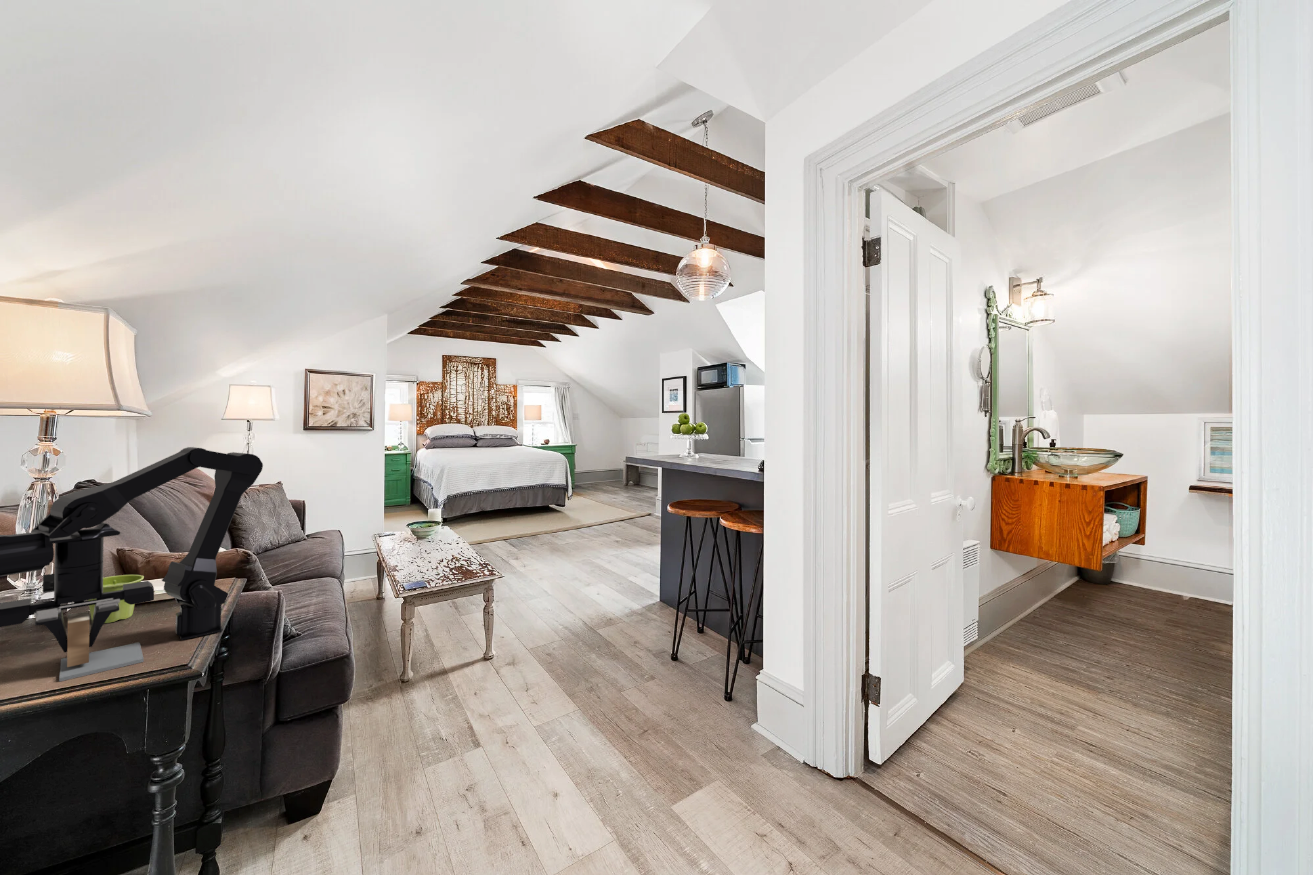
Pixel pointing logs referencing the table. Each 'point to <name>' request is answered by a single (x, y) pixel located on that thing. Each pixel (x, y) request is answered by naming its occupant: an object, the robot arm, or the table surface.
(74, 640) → the slab
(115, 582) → the plant pot
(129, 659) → the mat
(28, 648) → the table surface
